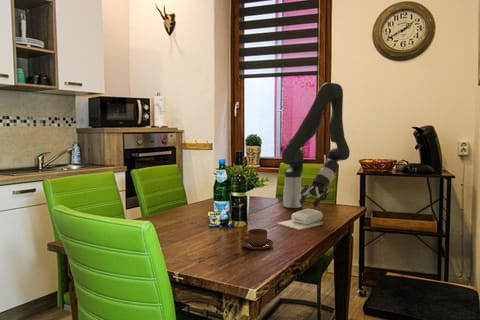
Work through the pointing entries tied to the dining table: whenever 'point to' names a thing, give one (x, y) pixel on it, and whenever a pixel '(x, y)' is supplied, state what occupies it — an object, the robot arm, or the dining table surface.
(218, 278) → the dining table surface
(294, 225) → the pad
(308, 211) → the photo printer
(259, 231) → the cup and saucer
